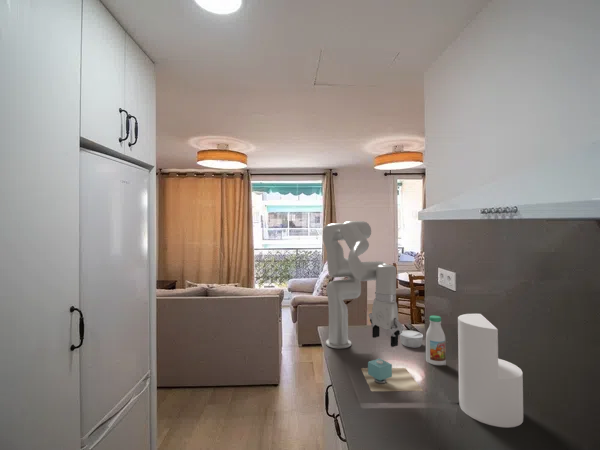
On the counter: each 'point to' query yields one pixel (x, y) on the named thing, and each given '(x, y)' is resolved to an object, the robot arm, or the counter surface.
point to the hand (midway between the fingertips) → (384, 341)
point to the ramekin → (411, 338)
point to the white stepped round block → (487, 375)
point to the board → (393, 381)
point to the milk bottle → (435, 342)
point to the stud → (380, 381)
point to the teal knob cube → (379, 369)
